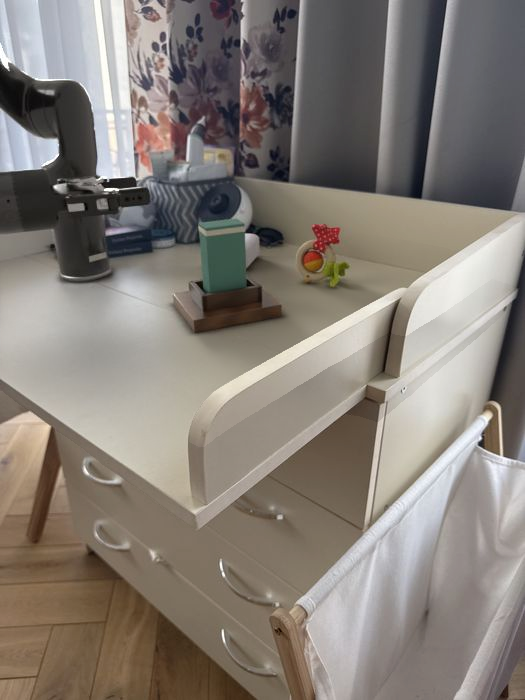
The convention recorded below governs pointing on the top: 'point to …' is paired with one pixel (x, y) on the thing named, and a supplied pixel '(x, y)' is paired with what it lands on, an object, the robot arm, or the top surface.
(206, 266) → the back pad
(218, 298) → the seat base
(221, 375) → the top surface
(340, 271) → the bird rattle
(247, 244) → the charger
